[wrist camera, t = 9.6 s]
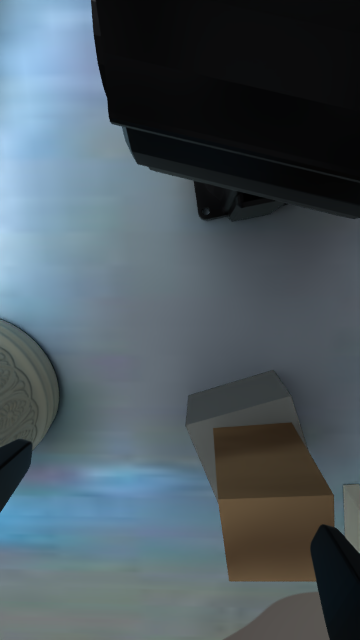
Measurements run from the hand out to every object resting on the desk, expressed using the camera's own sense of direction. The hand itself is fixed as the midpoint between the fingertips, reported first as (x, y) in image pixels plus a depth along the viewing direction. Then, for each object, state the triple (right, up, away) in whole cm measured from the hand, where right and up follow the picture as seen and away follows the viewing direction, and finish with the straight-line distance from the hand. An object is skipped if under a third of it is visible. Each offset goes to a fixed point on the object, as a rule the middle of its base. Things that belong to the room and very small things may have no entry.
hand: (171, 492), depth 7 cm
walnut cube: (+5, -4, +9) cm, 11 cm away
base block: (+5, -3, +13) cm, 14 cm away
